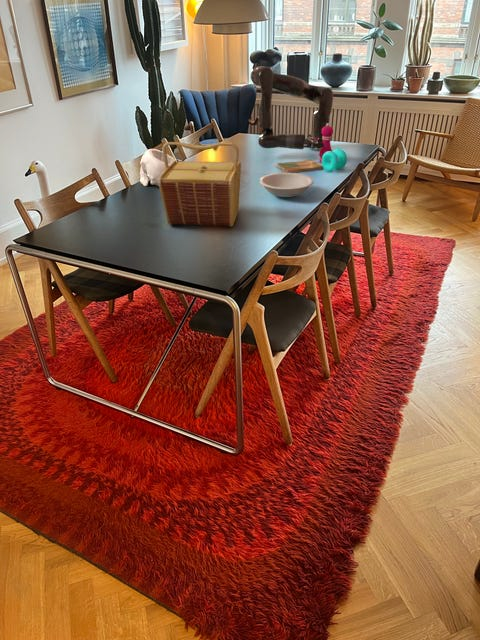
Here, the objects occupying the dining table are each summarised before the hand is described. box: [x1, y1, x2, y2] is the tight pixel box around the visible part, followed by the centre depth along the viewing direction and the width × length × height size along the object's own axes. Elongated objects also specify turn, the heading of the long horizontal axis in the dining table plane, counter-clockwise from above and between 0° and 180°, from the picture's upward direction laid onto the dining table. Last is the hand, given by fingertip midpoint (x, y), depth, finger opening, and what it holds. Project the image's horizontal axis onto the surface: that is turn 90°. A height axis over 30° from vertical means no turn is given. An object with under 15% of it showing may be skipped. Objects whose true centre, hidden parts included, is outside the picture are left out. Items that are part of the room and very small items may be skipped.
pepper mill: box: [318, 122, 334, 164], centre depth 254 cm, size 7×7×20 cm
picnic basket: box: [158, 141, 242, 228], centre depth 185 cm, size 29×26×30 cm
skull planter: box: [139, 148, 177, 187], centre depth 230 cm, size 14×20×19 cm
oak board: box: [277, 159, 324, 173], centre depth 251 cm, size 14×20×2 cm
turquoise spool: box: [321, 148, 348, 173], centre depth 244 cm, size 10×10×10 cm
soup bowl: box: [259, 172, 315, 198], centre depth 215 cm, size 24×24×7 cm
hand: (325, 143), depth 254 cm, fingers open, 8 cm apart
